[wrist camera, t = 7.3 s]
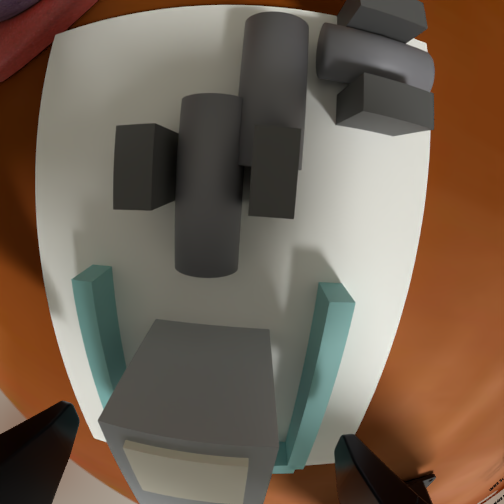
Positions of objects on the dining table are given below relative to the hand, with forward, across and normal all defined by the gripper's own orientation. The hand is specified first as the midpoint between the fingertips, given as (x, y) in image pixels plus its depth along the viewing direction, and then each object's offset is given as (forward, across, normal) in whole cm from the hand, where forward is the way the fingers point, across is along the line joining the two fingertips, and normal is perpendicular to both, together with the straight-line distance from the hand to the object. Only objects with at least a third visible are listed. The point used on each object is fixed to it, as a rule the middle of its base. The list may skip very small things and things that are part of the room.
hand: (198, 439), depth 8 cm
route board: (+4, 0, -4) cm, 5 cm away
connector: (+3, 0, 0) cm, 3 cm away
